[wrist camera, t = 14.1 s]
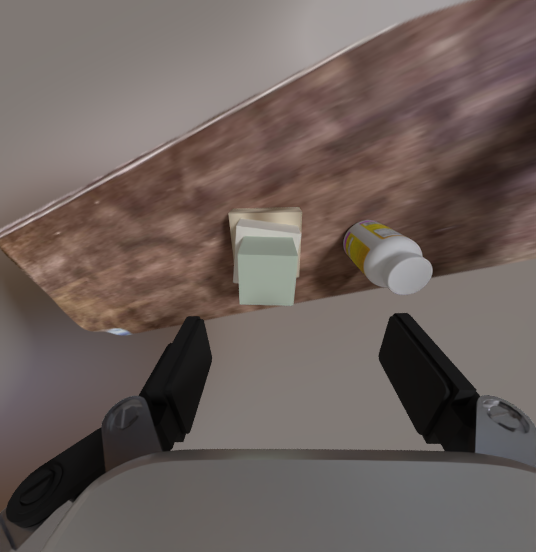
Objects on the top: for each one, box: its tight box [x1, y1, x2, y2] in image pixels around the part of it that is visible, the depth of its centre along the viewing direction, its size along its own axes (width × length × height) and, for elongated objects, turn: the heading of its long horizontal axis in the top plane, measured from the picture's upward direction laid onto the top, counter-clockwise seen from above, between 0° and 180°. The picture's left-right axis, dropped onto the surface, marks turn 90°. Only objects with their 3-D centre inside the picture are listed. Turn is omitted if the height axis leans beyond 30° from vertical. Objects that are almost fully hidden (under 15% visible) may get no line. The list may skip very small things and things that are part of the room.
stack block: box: [238, 236, 298, 306], centre depth 25 cm, size 6×6×6 cm
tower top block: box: [233, 218, 302, 283], centre depth 30 cm, size 8×8×4 cm
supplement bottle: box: [343, 220, 433, 295], centre depth 29 cm, size 7×7×13 cm
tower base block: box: [229, 207, 302, 277], centre depth 33 cm, size 10×10×4 cm
